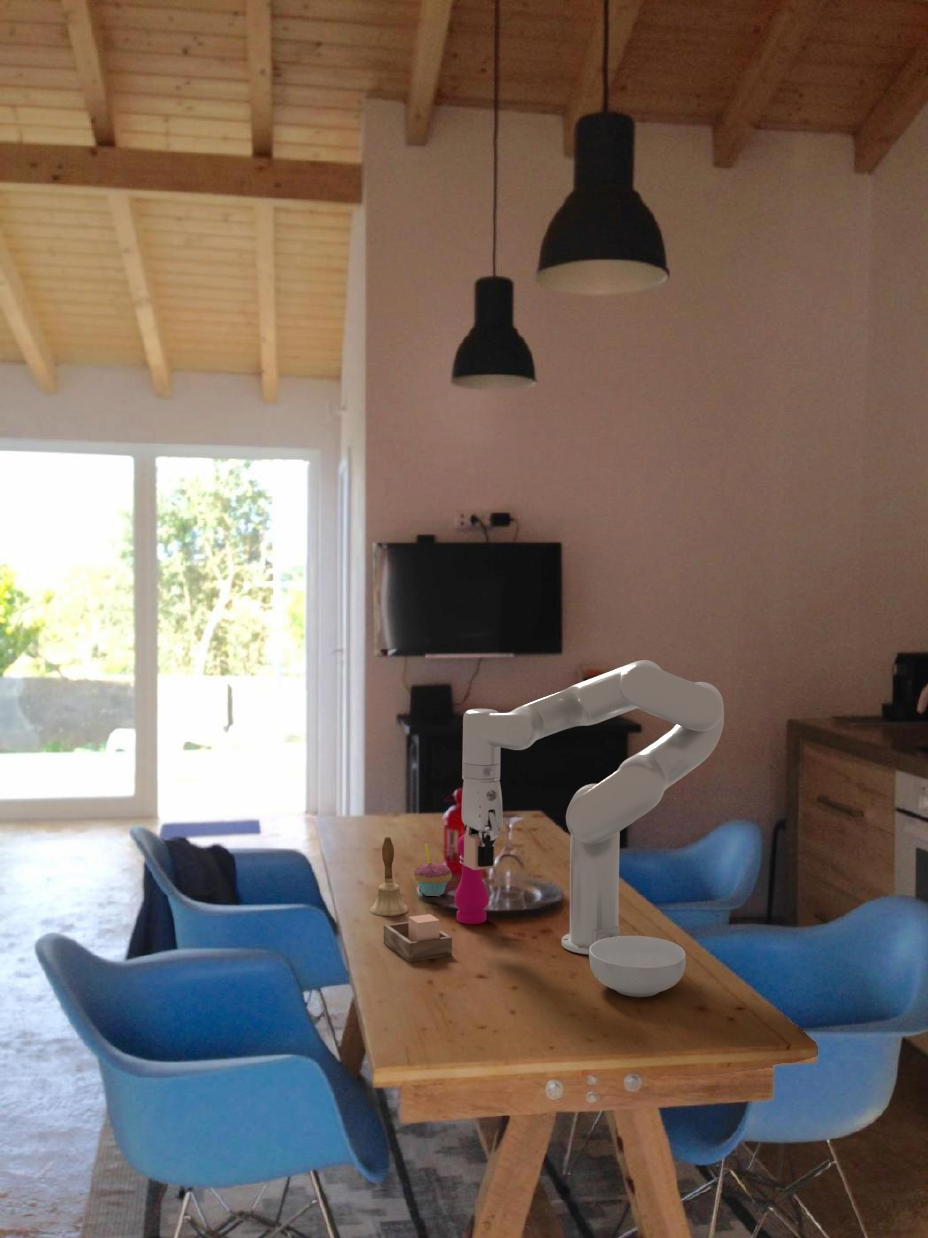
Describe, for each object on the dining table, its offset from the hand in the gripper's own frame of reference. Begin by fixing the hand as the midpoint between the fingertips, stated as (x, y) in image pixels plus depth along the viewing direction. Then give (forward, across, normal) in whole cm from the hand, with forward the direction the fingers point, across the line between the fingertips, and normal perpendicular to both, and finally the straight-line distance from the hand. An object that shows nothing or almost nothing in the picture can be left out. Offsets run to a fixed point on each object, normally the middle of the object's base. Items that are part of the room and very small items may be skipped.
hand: (479, 862), depth 238 cm
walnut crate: (+16, -1, +14) cm, 21 cm away
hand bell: (+16, +26, +9) cm, 32 cm away
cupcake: (+16, +34, -5) cm, 38 cm away
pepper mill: (+16, +12, -4) cm, 21 cm away
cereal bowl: (+15, -37, -13) cm, 42 cm away
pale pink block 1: (+15, -4, +13) cm, 20 cm away
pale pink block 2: (+1, 0, 0) cm, 1 cm away
